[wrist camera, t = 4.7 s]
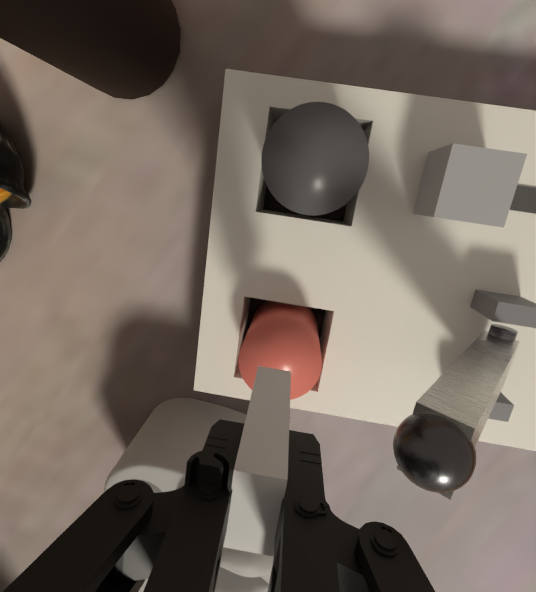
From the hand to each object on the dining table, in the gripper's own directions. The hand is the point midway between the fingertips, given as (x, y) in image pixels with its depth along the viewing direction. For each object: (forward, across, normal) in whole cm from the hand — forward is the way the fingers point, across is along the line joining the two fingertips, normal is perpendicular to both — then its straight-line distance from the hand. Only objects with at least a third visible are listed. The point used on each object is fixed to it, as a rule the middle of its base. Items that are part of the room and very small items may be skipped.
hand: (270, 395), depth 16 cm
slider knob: (+5, -7, -10) cm, 14 cm away
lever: (+4, -11, -2) cm, 12 cm away
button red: (+8, 0, 0) cm, 8 cm away
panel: (+9, -6, -5) cm, 12 cm away
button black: (+7, 0, -10) cm, 12 cm away
